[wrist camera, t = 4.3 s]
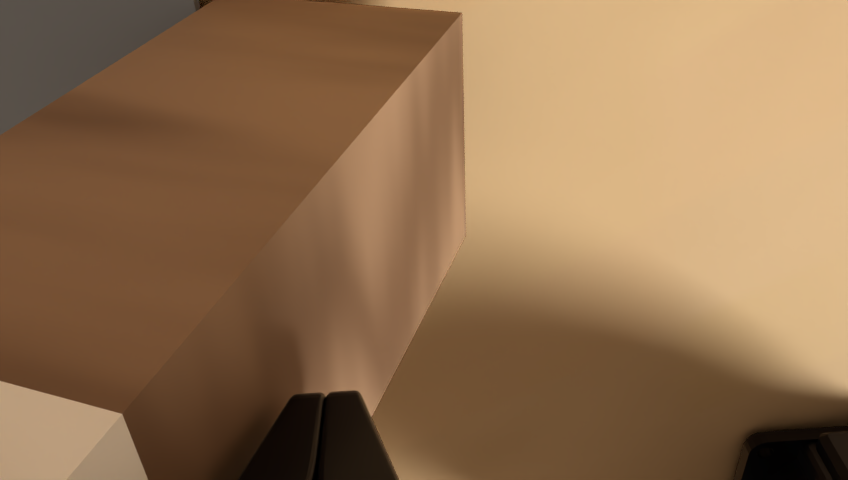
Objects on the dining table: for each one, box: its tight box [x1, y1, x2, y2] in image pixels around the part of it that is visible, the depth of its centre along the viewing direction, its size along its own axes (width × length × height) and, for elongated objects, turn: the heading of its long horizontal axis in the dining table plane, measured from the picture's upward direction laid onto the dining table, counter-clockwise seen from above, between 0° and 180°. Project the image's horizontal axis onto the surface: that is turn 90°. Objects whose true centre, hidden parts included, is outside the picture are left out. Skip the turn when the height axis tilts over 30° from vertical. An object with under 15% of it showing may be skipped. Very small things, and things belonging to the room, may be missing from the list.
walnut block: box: [0, 0, 466, 480], centre depth 12 cm, size 5×5×11 cm
